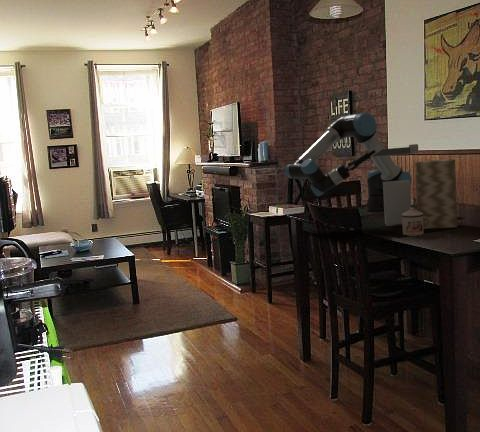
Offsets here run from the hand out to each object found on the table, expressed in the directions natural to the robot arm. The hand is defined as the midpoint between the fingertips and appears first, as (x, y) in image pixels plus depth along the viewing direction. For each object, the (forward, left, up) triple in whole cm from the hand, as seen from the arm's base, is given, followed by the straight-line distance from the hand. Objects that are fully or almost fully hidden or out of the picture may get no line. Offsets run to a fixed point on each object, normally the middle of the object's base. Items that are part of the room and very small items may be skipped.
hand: (380, 146), depth 251 cm
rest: (-3, +5, -38) cm, 38 cm away
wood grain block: (-1, +26, -38) cm, 46 cm away
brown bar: (-2, +4, -4) cm, 6 cm away
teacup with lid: (+18, +25, -38) cm, 49 cm away
